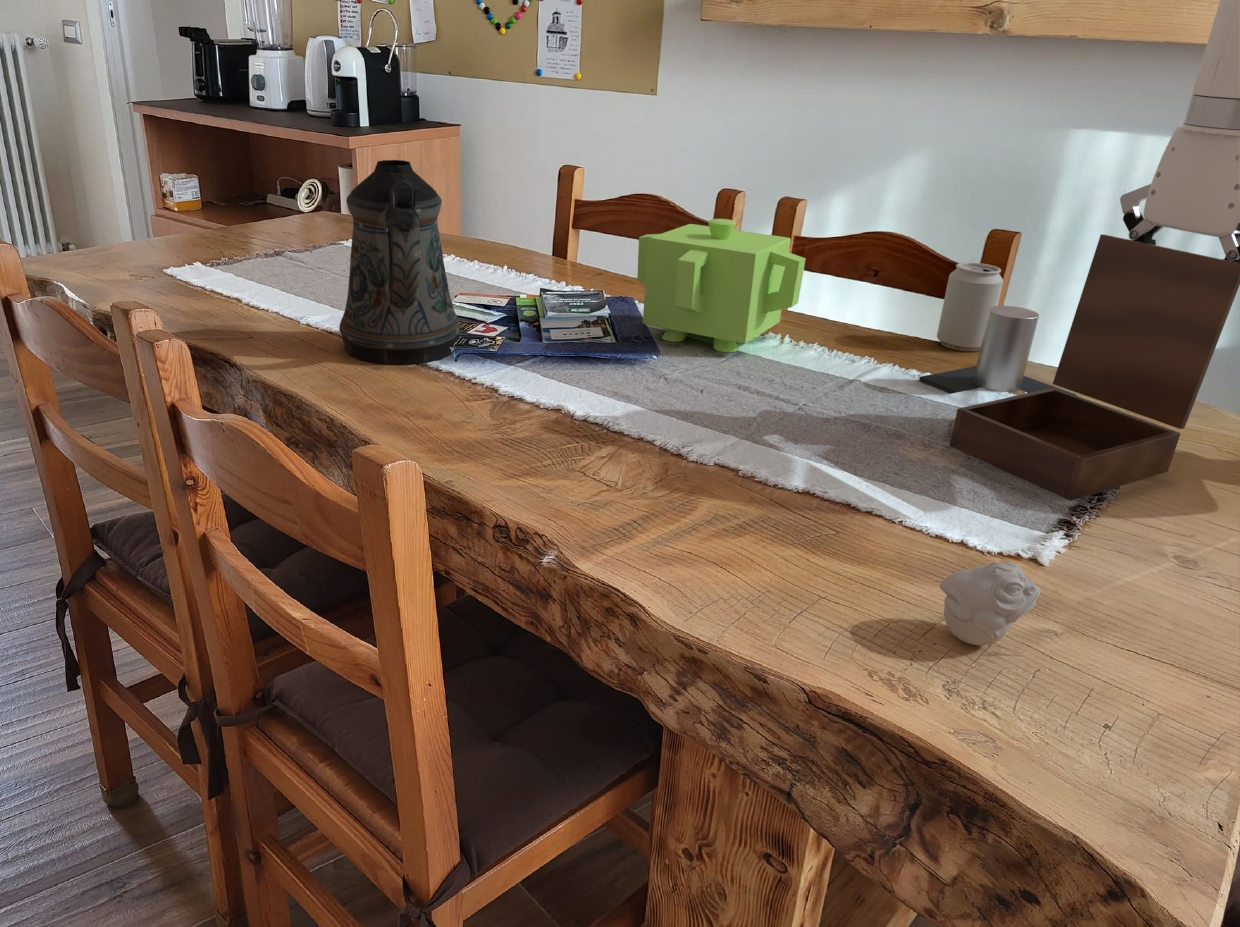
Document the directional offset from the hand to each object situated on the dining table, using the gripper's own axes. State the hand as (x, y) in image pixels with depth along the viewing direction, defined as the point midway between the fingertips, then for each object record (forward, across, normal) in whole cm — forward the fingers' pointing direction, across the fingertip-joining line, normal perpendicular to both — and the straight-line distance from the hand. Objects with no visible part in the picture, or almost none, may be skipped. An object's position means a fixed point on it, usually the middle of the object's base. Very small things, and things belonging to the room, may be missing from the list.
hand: (1175, 285), depth 109 cm
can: (+19, +36, -14) cm, 43 cm away
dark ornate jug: (+19, +67, +63) cm, 94 cm away
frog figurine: (+19, -20, +50) cm, 57 cm away
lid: (+4, 0, +4) cm, 6 cm away
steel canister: (+18, +20, -2) cm, 27 cm away
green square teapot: (+19, +55, +19) cm, 61 cm away
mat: (+19, +20, -2) cm, 27 cm away
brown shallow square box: (+19, 0, +13) cm, 23 cm away
